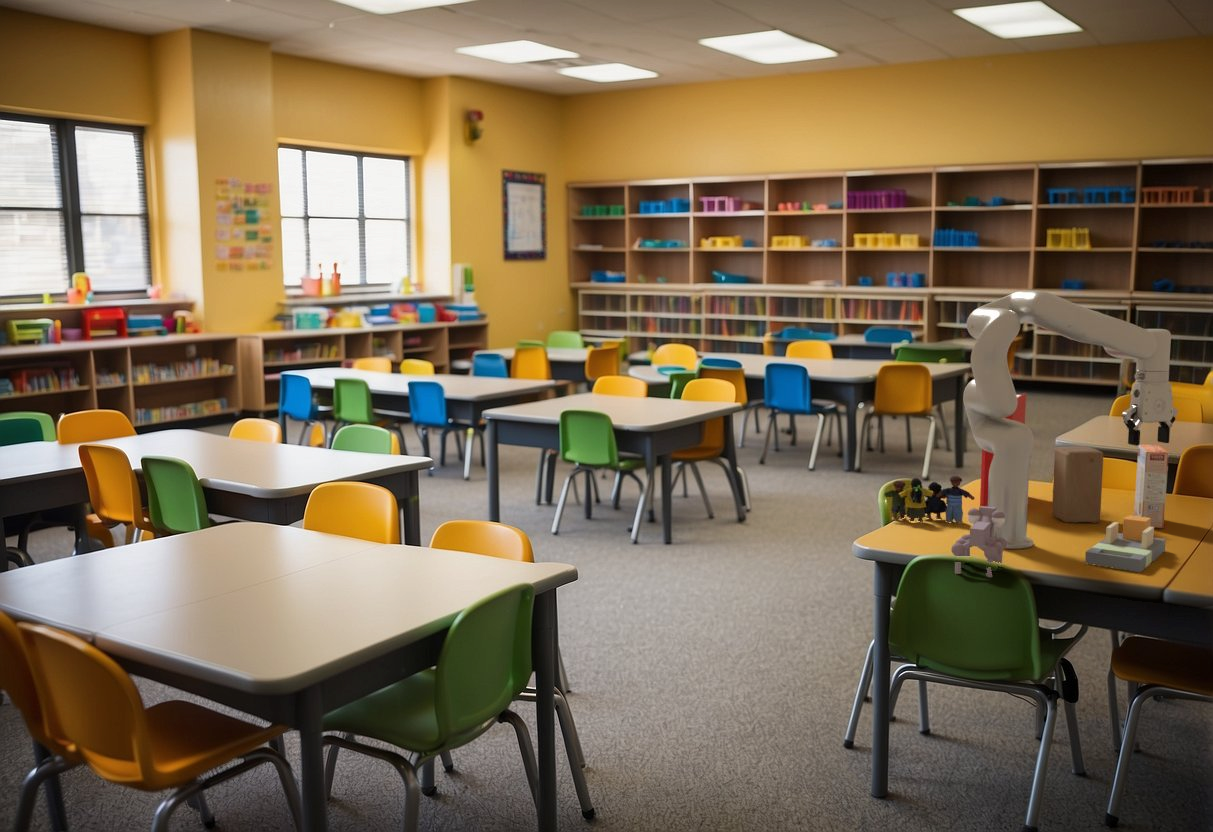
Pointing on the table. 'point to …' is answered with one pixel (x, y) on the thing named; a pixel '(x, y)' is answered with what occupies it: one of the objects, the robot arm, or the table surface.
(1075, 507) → the wooden block
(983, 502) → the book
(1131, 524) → the cube
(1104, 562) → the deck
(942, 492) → the doll family
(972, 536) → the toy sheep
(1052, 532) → the table surface
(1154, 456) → the cracker box
